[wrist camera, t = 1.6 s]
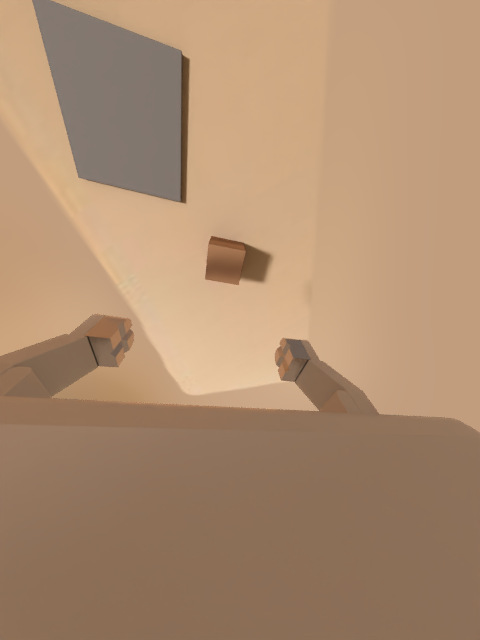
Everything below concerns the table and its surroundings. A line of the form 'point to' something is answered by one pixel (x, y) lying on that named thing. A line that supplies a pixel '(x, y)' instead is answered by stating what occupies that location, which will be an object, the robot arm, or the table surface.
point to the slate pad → (116, 100)
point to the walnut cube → (225, 260)
